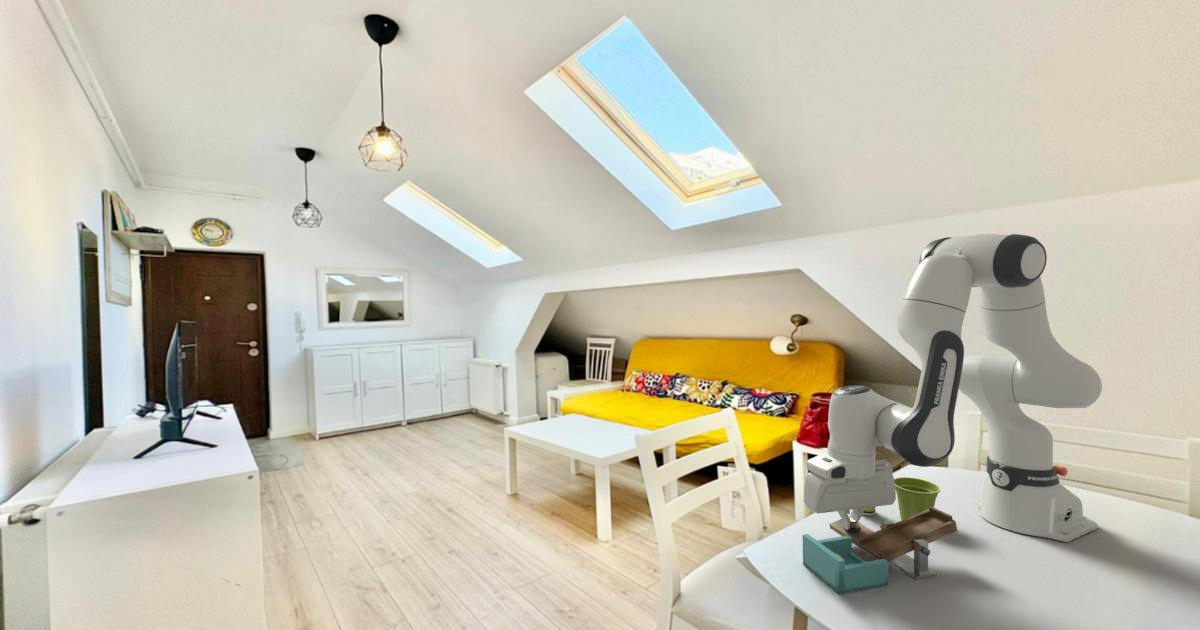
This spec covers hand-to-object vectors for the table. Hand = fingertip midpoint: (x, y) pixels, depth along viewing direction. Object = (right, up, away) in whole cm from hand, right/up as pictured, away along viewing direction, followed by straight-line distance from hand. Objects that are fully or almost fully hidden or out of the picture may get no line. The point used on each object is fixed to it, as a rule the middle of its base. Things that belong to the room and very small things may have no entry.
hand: (850, 527), depth 98 cm
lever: (+8, 0, -1) cm, 8 cm away
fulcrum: (+8, -5, -6) cm, 11 cm away
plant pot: (+22, -4, +12) cm, 25 cm away
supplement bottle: (+13, -4, +17) cm, 22 cm away
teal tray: (-6, -5, -9) cm, 12 cm away
